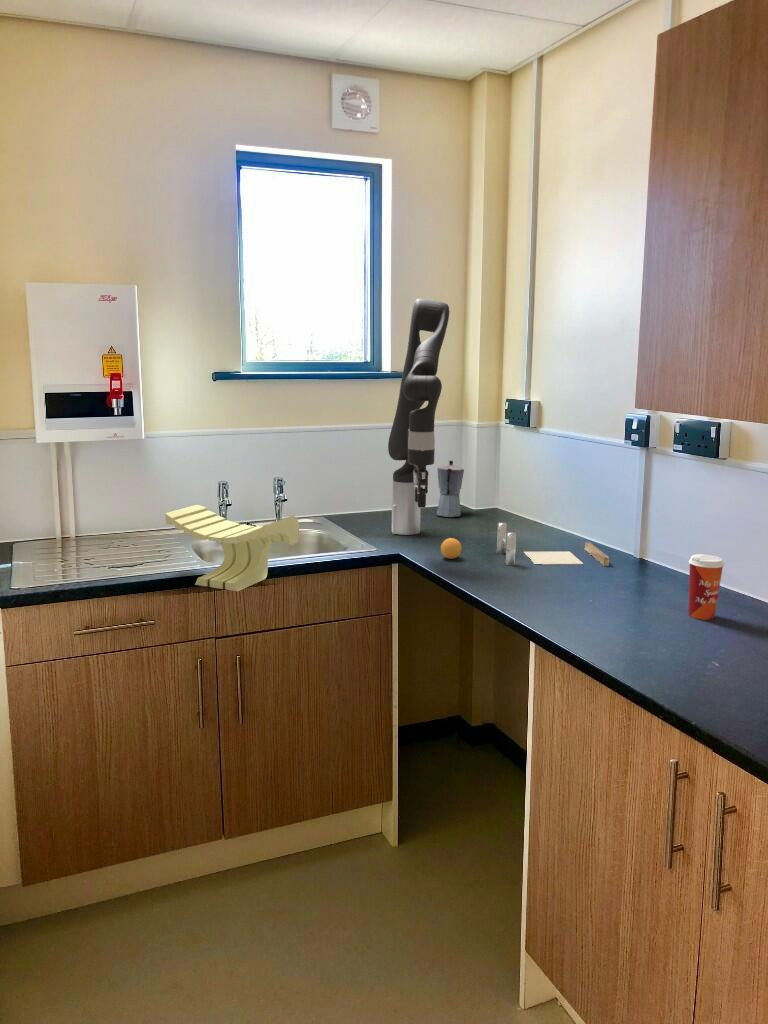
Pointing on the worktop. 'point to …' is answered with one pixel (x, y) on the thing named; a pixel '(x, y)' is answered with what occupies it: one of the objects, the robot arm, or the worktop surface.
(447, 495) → the moka pot
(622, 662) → the worktop surface
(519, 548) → the worktop surface
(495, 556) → the worktop surface
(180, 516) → the slatted curved stool
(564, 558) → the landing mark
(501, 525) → the post
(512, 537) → the post
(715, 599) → the paper cup
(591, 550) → the wooden stick
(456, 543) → the ball
